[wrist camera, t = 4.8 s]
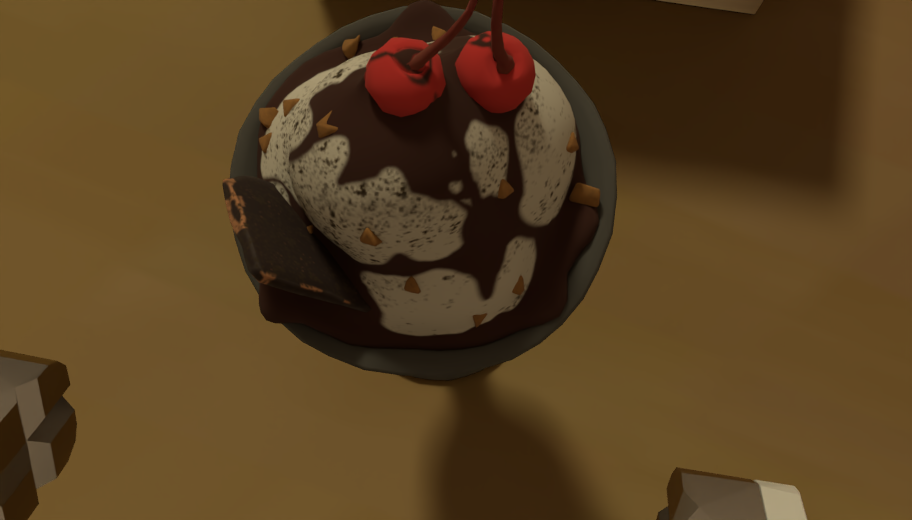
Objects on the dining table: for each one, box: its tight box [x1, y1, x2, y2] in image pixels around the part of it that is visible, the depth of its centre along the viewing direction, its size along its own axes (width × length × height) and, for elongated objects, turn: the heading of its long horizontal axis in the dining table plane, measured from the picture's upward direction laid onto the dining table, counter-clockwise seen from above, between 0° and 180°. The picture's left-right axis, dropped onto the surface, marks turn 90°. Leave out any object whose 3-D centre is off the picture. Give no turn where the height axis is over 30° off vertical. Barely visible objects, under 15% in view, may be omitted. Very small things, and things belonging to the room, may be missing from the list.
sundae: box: [223, 0, 617, 380], centre depth 17 cm, size 7×7×15 cm
